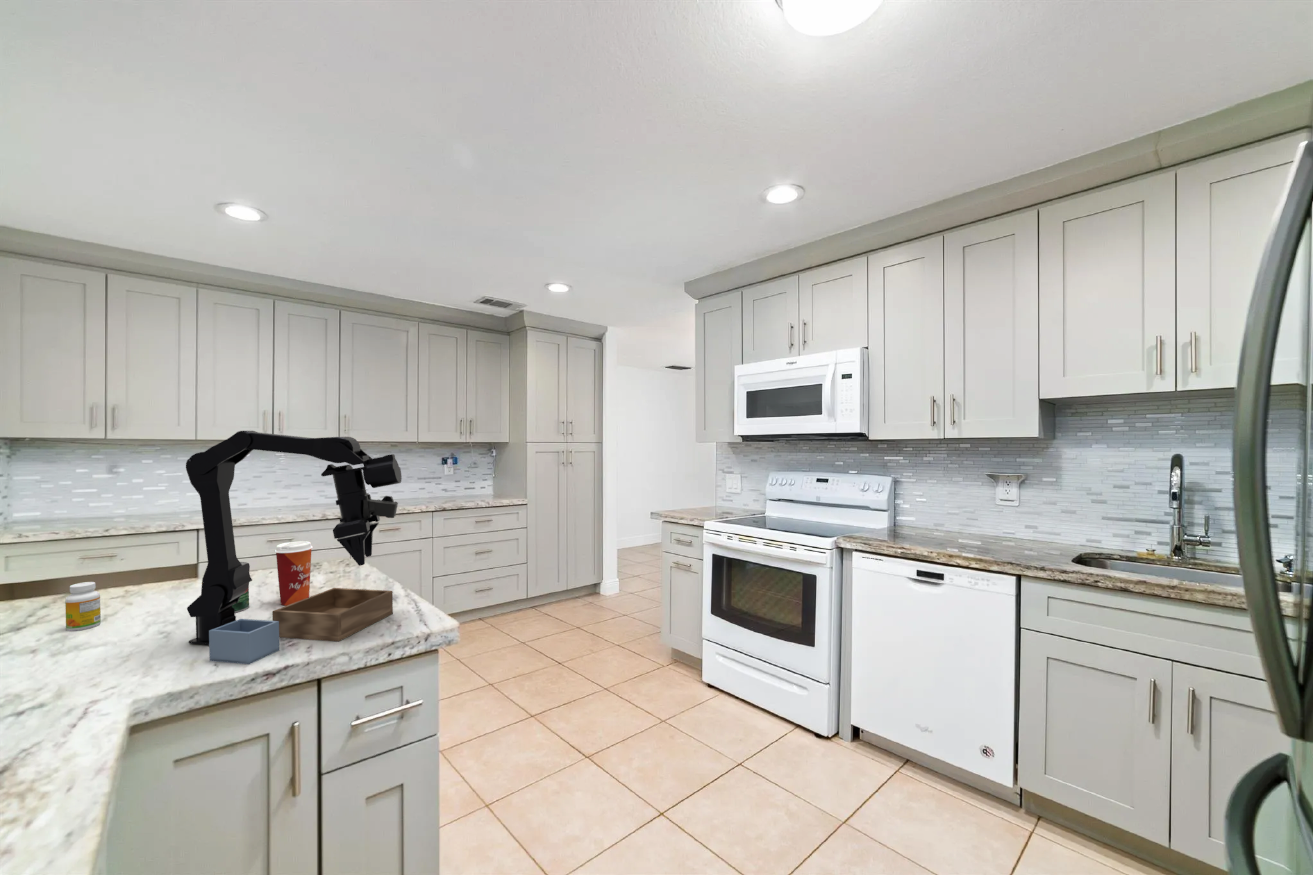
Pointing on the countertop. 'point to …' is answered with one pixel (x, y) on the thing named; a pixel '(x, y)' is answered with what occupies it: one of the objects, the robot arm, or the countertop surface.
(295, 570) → the coffee cup
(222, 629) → the small crate
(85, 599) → the supplement bottle
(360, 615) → the big crate
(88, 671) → the countertop surface
